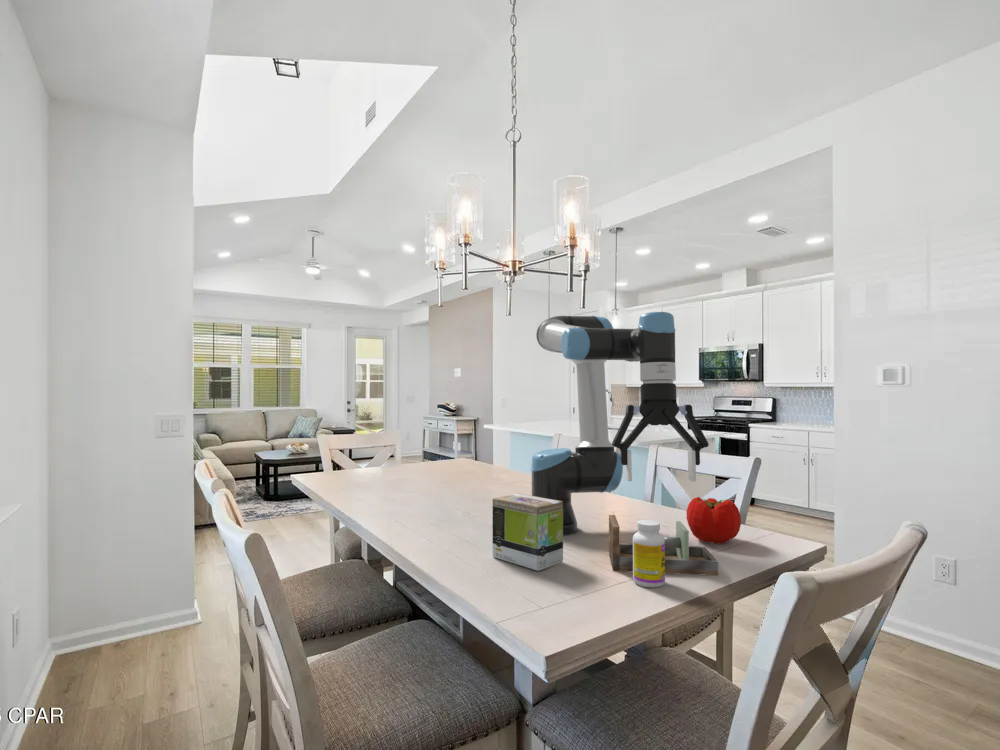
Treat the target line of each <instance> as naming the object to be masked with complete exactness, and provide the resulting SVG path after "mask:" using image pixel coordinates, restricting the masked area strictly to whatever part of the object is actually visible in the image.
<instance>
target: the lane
mask: <svg viewBox="0 0 1000 750" xmlns="http://www.w3.org/2000/svg"><path fill="white" fill-rule="evenodd" d="M620 537H621V536H620V525H619V521H618V519H617V517H616V514H608V556H609V560H610V564H611V565H610V566H611V567H612V571H613V572H614V571H615V572H632V573H633V543H620V542H621V541H620V539H621V538H620ZM676 573H680V574H681V575H698V574H705V576H719V561H718V560H717V559H716V558H715V556H713V554H712V553H711V552H710V551H709V549H707V547H706V546H697V545H695V546H693V545H689V559H679V557H678V556H677V554H676V548H665V574H676ZM680 574H679V575H680Z"/></svg>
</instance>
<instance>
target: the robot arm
mask: <svg viewBox="0 0 1000 750" xmlns="http://www.w3.org/2000/svg"><path fill="white" fill-rule="evenodd" d="M674 319H675V317H674V315H673V314H672V313H670V312H668V311H650V312H645V313H643V314H641V315H640V316H639V320H638V326H637V327H638V328H614V327H613V324H612V323H611V321H610V320H609V319H608V318H606V317H604V316H596V315H591V316H590V315H589V316H587V315H586V316H585V315H558V316H556V315H555V316H552V317H549V318H547V319H545V320H543V321H542V322H541V323H540V324H539V326H538V327H537V329H536V341H537V343H538V344H539V346H540V347H541V348H542V349H543V350H545V351H548V352H552V353H560V354H562V356H563V357H564V358H565V359H566V360H571V361H572V362H573V363H574V364H575V365H576V380H577V381H576V382H577V402H578V403H577V404H578V406H577V407H578V422H579V423H578V424H579V442H578V444H577V445H576V446H575V452H573V453H572V451H571V449H570V448H566V447H560V448H549V449H544V450H539V451H537V452H535V453H534V454H533V456H532V458H531V468H530V471H531V496H536V497H541V498H547V499H553V500H559V501H563V536H568V535H573V534H575V533H576V532H577V531H578V522H577V521H578V520H577V519H576V514H575V512H574V508H573V506H572V494H577V493H579V494H580V493H581V494H582V493H583V494H584V493H601V494H602V493H608V492H614V491H615V490H616V489H617V488H618V487H619V486H620V484H621V482H622V478H623V471H624V466H625V481H627V482H633V479H632V478H633V470H632V469H633V468H632V467H633V466H632V450H631V449H629V448H630V446H631V445H632V444H633V443H634V442H635V441H636V440H637V438H638V437H639V435H640V434H641V433H643V432H644V430H645V429H646V428H647V427H648V426H660V425H661V426H668V425H670V426H671V427H672V428H673V429H674V430H675V431H676V432H677V433H678V435H680V437H681V438H682V439H683V441H685V442H686V444H687V445H688V446H689V448H691V449H687V471H688V472H687V473H688V481H691V482H697V470H696V469H697V468H696V466H700V464H701V454H700V453H701V452H700V451H701V450H702V449H704V448H708V447H709V446H710V445H709V442H708V439H707V438H706V436H705V434H704V432H703V430H702V428H701V427H700V425H699V423H698V421H697V419H696V417H695V415H694V414H693V412H694V411H693V406H692V404H684V405H678V403H677V401H678V400H677V385H676V383H674V382H675V381H676V380H677V372H676V370H677V369H676V328H675V320H674ZM607 361H625V362H636V363H637V362H639V367H640V368H639V371H640V372H639V374H640V375H639V378H640V381H641V382H642V383H641V384H640V404H639V406H637V405H633V404H627V405H626V408H625V415H624V417H623V419H622V422H621V424H620V425H619V428H618V430H617V431H616V434H615V436H614V438H613V440H612V443H611V442H610V440H609V424H608V423H609V422H608V402H607V390H606V389H607V388H606V387H607V386H606V371H605V363H606V362H607ZM638 412H639V414H640V415H641V416H642V418H641V420H640V421H638V424H637V425H636V426H635V427H634V429H633V430H632V431H631V432H630V433H629V434H628V436H627V437H626V438H625V439H624V441H623V438H624V437H625V434H626V432H627V431H628V428H629V426H630V424H631V422H632V420H633V418H634V416H635V415H637V414H638ZM679 412H680V413H681V414H680V415H683V416H684V418H685V420H686V422H687V424H688V426H689V428H690V430H691V431H692V434H693V435H694V437H695V439H696V440H695V439H694V438H693V436H692V435H691V434H690V433H689V432H688V430H687V429H686V428H685V427H684V426H683V425H682V424H681V422H680V421H679V420H678V418H677V417H676V416H677V415H678V413H679ZM622 441H623V442H622ZM615 448H616V449H619V451H620V453H619V452H618V451H615Z"/></svg>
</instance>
